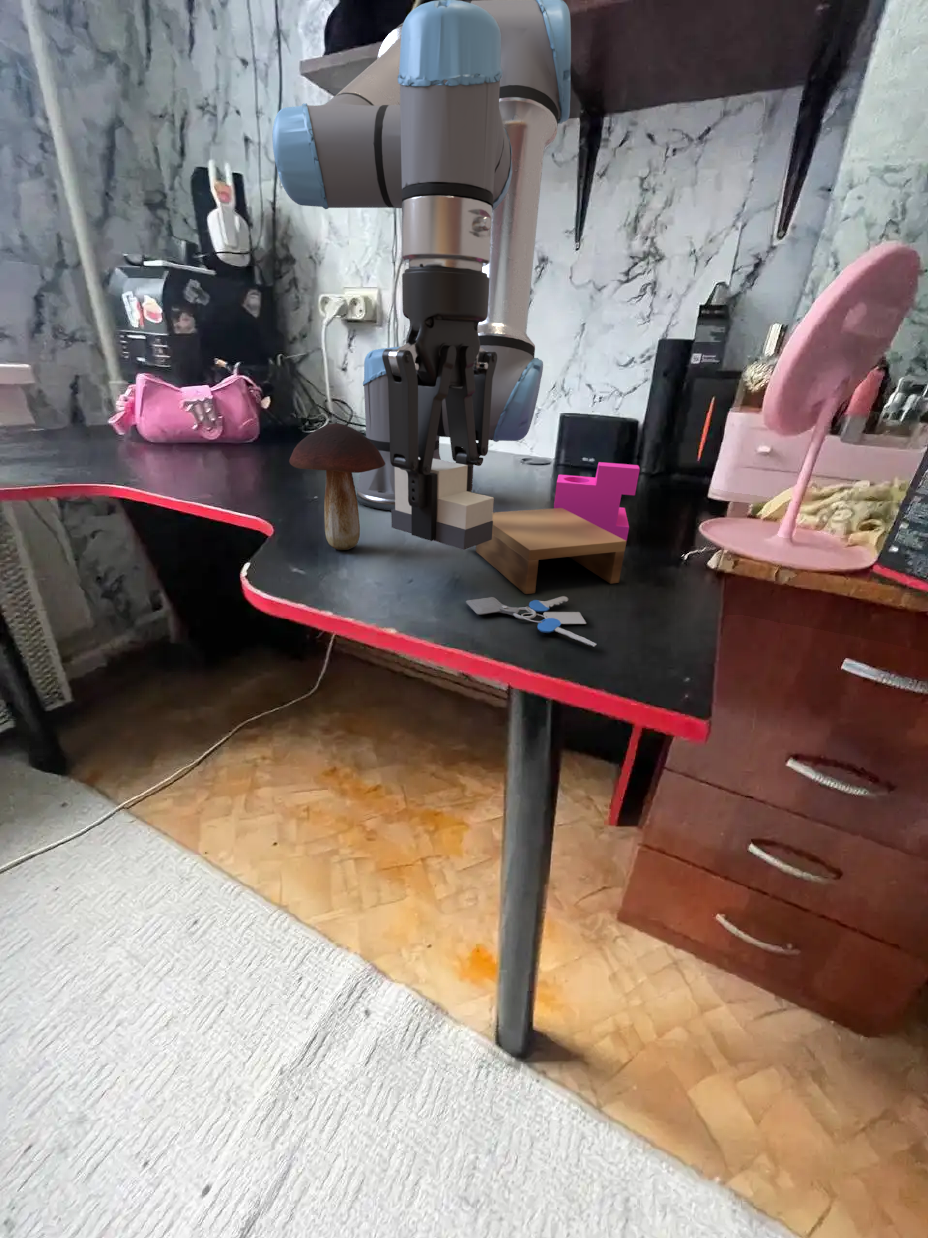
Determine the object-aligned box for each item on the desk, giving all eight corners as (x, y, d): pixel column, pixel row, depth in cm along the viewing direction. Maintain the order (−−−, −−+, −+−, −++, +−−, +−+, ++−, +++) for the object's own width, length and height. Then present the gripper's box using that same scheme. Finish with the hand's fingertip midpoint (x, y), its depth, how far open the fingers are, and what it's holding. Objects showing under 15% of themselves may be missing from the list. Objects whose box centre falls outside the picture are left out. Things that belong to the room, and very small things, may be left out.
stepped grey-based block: (391, 527, 58) (390, 460, 55) (420, 519, 62) (421, 455, 59) (464, 550, 53) (467, 477, 50) (492, 539, 56) (496, 470, 53)
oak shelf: (475, 551, 70) (477, 513, 68) (557, 544, 74) (561, 507, 72) (525, 594, 58) (529, 549, 56) (619, 582, 62) (626, 540, 60)
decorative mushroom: (400, 542, 72) (399, 422, 65) (361, 570, 62) (355, 433, 56) (326, 531, 75) (318, 415, 68) (278, 556, 65) (263, 424, 59)
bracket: (625, 545, 75) (639, 468, 70) (550, 537, 76) (559, 462, 72) (621, 521, 85) (633, 453, 81) (554, 514, 87) (562, 448, 82)
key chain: (456, 611, 53) (456, 603, 53) (494, 584, 60) (495, 577, 60) (594, 652, 47) (595, 643, 47) (620, 617, 54) (622, 609, 53)
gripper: (405, 251, 38) (407, 562, 49) (538, 278, 51) (517, 521, 61) (335, 256, 42) (352, 542, 53) (474, 280, 55) (465, 508, 66)
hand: (440, 530), depth 57 cm, fingers closed on stepped grey-based block, 5 cm apart
